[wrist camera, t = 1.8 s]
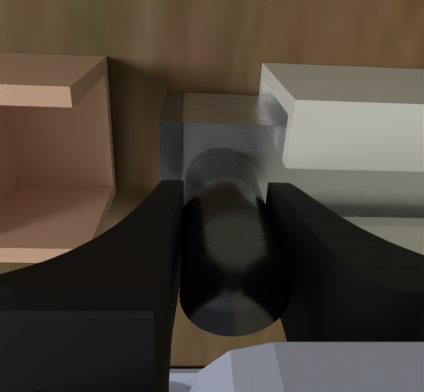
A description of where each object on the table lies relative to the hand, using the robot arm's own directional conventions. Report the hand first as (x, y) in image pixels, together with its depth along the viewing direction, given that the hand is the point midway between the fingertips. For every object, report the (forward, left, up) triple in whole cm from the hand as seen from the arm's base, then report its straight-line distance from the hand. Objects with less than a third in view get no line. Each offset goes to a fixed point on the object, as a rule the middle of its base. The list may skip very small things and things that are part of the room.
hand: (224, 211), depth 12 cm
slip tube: (0, -4, -6) cm, 7 cm away
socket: (0, +7, -7) cm, 10 cm away
